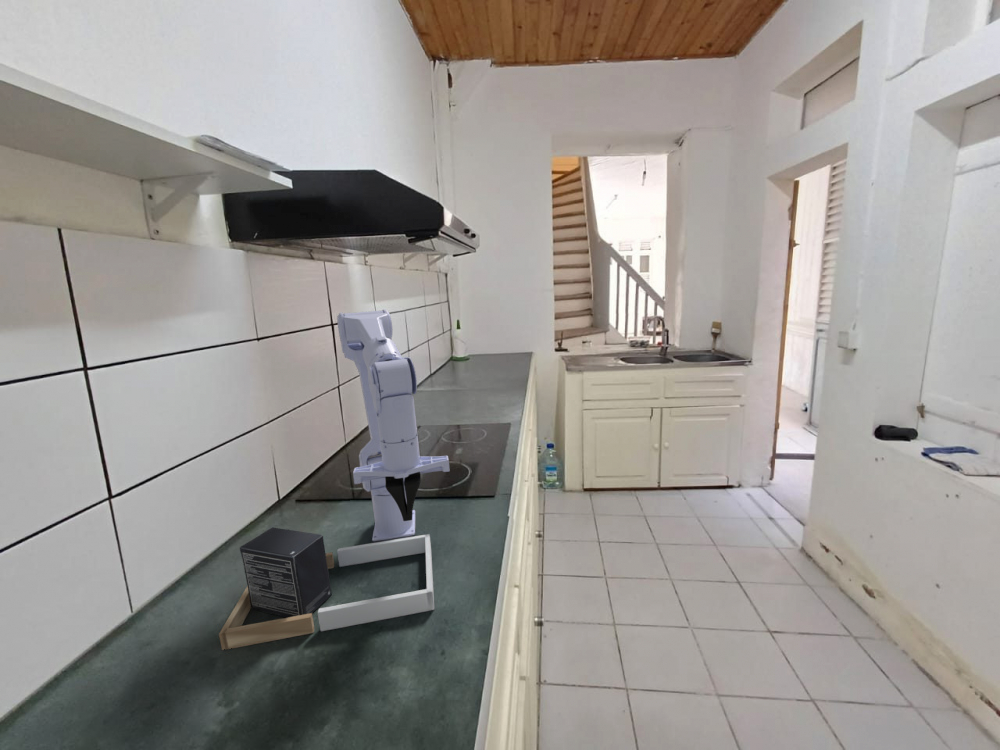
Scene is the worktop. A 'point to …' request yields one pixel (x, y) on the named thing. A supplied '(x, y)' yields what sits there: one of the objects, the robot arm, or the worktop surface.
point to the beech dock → (263, 624)
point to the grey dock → (388, 604)
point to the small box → (286, 572)
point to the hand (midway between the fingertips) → (408, 517)
